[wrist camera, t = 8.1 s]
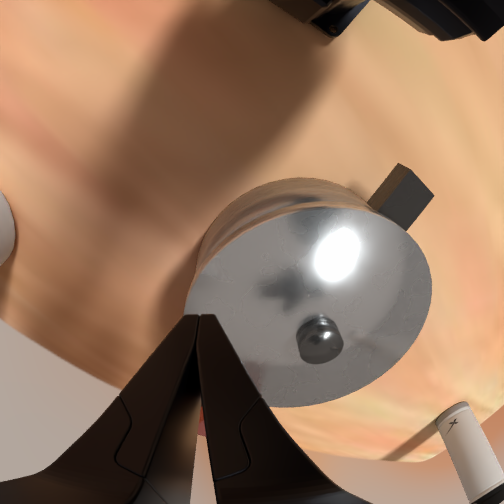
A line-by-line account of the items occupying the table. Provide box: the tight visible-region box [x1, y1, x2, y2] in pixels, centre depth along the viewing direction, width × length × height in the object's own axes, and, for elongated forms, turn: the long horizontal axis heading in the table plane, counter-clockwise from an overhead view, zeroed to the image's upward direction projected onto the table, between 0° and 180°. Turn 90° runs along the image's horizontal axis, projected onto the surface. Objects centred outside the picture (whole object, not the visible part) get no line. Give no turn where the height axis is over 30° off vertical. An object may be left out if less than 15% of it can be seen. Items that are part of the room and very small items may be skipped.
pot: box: [195, 163, 434, 407], centre depth 21 cm, size 23×14×5 cm, turn 145°
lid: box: [183, 201, 432, 437], centre depth 18 cm, size 20×15×2 cm
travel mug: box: [436, 402, 504, 504], centre depth 29 cm, size 6×7×20 cm
